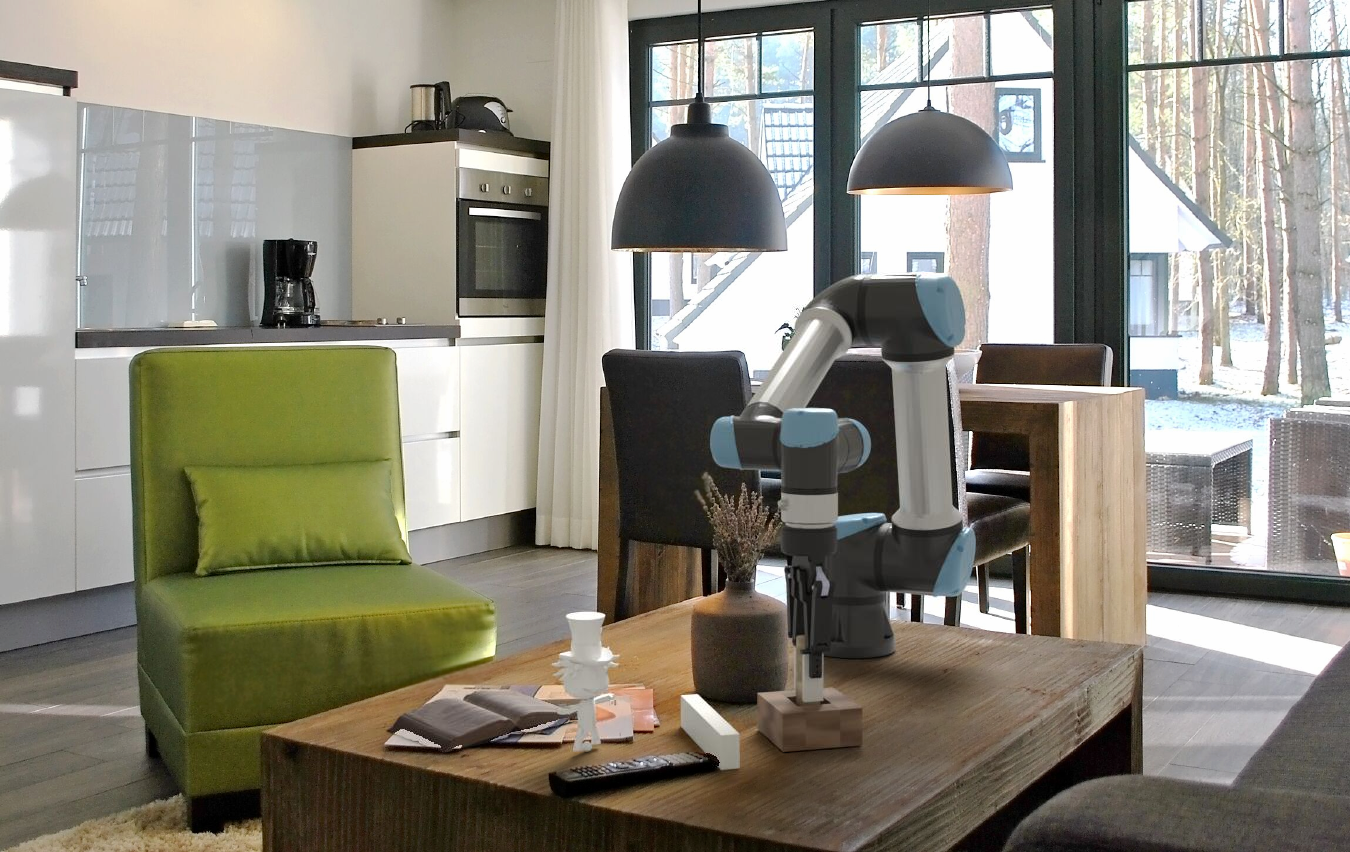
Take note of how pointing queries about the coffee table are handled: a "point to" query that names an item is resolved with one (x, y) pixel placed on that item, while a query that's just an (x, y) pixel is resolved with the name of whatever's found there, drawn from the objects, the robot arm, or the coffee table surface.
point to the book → (477, 718)
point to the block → (809, 721)
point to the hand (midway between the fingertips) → (808, 697)
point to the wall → (710, 731)
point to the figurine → (586, 674)
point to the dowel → (800, 672)
